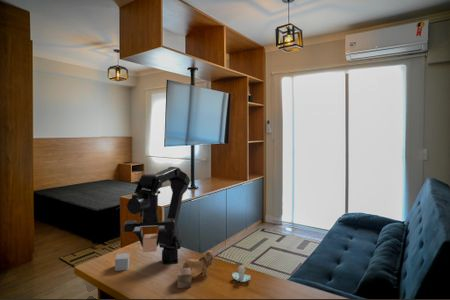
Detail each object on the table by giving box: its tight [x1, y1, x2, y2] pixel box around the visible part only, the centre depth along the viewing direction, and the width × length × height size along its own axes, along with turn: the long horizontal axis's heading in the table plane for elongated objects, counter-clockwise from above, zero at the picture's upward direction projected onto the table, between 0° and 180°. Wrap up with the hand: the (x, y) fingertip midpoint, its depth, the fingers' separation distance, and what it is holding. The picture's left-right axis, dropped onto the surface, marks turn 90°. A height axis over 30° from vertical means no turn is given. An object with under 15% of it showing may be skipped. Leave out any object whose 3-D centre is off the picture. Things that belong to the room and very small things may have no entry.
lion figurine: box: [182, 250, 215, 279], centre depth 110 cm, size 15×5×9 cm, turn 114°
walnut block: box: [176, 267, 193, 289], centre depth 104 cm, size 5×5×5 cm
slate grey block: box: [114, 252, 130, 272], centre depth 115 cm, size 5×5×5 cm
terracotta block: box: [142, 233, 158, 253], centre depth 106 cm, size 5×5×5 cm
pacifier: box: [232, 265, 251, 283], centre depth 107 cm, size 7×6×6 cm
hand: (150, 246), depth 106 cm, fingers closed on terracotta block, 5 cm apart
